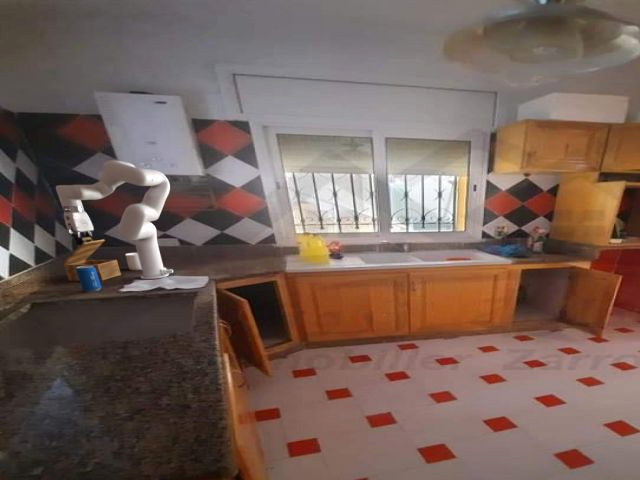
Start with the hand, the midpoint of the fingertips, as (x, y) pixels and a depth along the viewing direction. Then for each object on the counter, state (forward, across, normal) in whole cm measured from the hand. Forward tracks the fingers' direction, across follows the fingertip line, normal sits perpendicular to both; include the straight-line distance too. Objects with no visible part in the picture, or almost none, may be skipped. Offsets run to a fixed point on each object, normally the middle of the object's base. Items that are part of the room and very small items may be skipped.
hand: (85, 243), depth 172 cm
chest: (+19, 0, 0) cm, 19 cm away
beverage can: (+20, -26, -19) cm, 38 cm away
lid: (+5, 0, +2) cm, 5 cm away
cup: (+20, +22, -7) cm, 30 cm away
